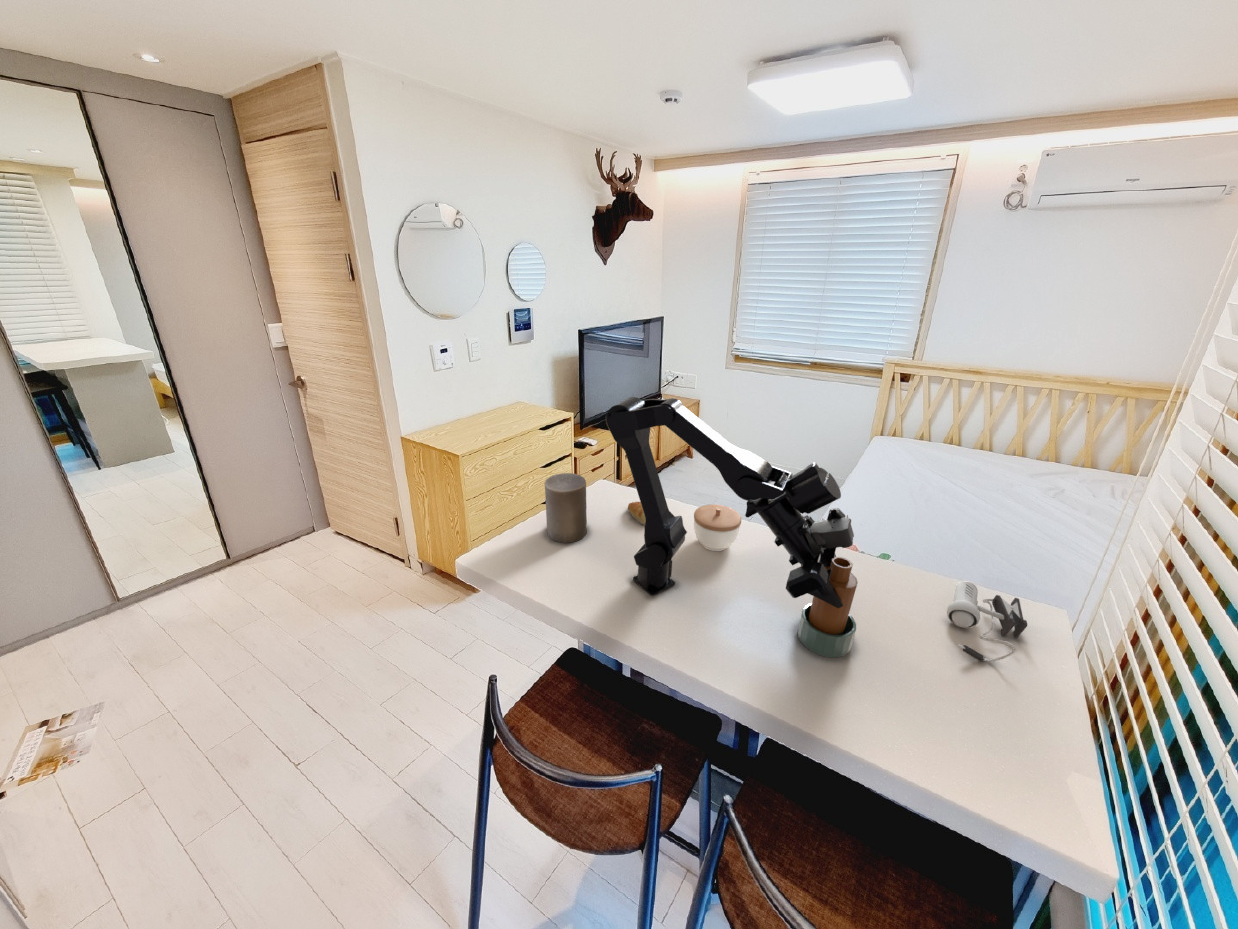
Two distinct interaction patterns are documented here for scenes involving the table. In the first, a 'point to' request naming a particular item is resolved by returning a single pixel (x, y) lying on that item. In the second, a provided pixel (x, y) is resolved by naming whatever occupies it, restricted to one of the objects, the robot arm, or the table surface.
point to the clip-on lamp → (968, 615)
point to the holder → (825, 637)
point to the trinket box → (716, 526)
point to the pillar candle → (566, 507)
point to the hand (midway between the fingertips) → (842, 595)
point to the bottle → (845, 586)
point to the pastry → (637, 511)
